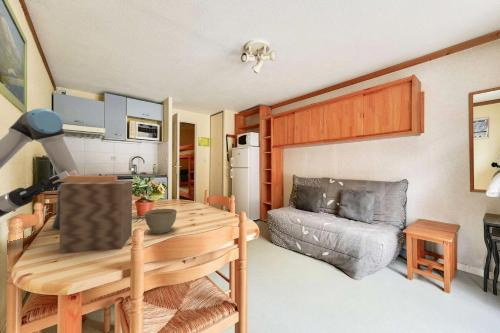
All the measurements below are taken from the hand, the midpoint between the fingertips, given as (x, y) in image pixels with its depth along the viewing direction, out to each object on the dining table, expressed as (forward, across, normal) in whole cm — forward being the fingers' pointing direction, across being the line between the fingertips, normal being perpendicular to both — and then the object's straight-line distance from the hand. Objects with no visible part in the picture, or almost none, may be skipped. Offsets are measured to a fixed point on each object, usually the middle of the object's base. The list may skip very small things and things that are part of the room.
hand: (71, 173), depth 97 cm
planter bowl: (+16, -8, -46) cm, 50 cm away
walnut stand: (-5, +4, -34) cm, 34 cm away
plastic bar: (+3, 0, -6) cm, 7 cm away
